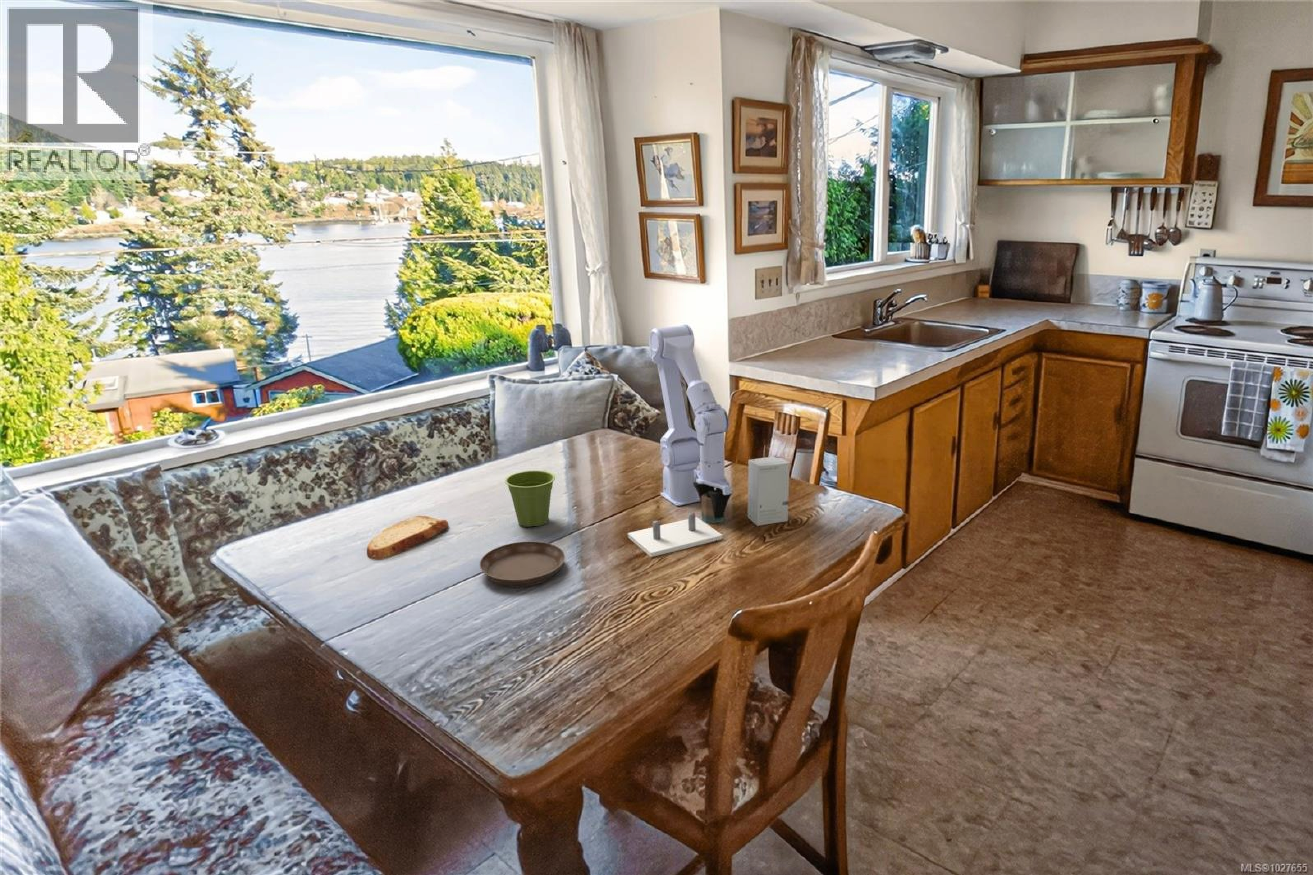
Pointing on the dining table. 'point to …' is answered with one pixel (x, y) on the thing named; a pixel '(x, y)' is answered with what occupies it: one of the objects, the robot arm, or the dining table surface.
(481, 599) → the dining table surface
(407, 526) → the bread slice
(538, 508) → the plant pot
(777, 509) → the skincare box
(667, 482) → the robot arm
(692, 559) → the dining table surface
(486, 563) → the plant saucer
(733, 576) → the dining table surface
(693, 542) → the pin board
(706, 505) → the sleeve
